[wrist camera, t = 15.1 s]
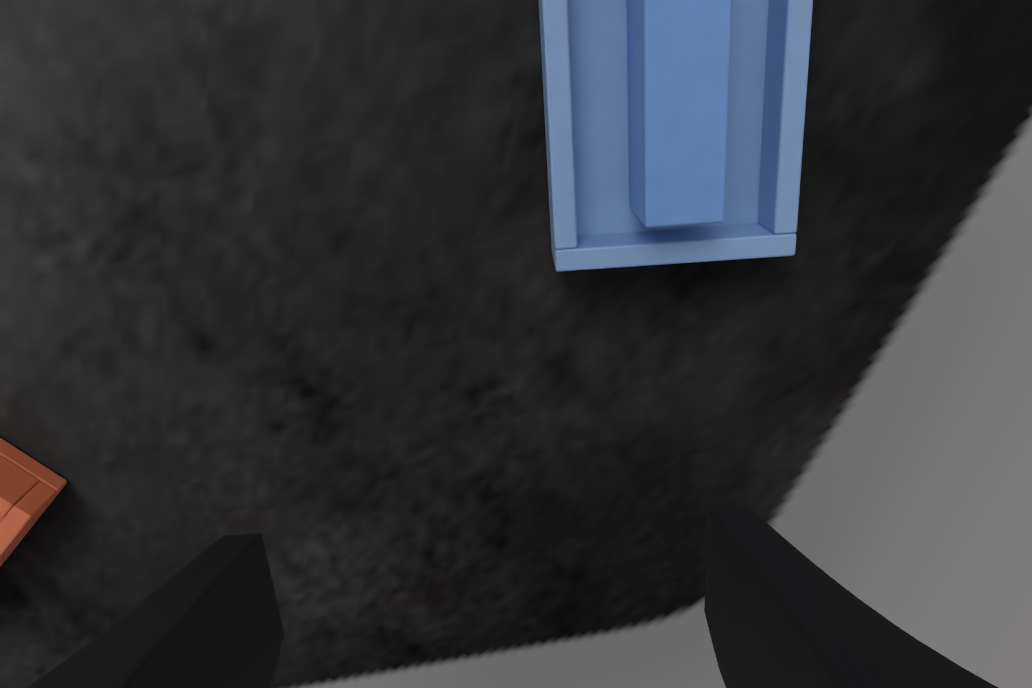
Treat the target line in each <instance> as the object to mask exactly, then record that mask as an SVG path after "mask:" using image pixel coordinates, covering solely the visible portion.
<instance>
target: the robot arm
mask: <svg viewBox="0 0 1032 688" xmlns="http://www.w3.org/2000/svg"><path fill="white" fill-rule="evenodd" d="M705 615H706V618H707V623H708V627H709V631H710V635H711V639H712V643H713V647H714V651H715V654H716V658H717V662H718V666H719V669H720V672H721V675H722V678H723V680H724V683H725V686H726V688H998V687H996V686H994V685H992V684H990V683H989V682H987V681H985V680H983V679H981V678H979V677H978V676H976V675H974V674H973V673H971V672H969V671H967V670H966V669H964V668H962V667H960V666H959V665H957V664H956V663H954V662H952V661H951V660H949V659H948V658H946V657H944V656H943V655H941V654H939V653H938V652H936V651H935V650H933V649H931V648H930V647H928V646H927V645H925V644H923V643H922V642H920V641H918V640H916V639H915V638H914V637H912V636H911V635H909V634H908V633H906V632H905V631H903V630H901V629H900V628H899V627H897V626H896V625H894V624H893V623H891V622H890V621H888V620H887V619H886V618H885V617H883V616H882V615H880V614H879V613H878V612H876V611H875V610H873V609H872V608H871V607H869V606H868V605H866V604H865V603H863V602H862V601H861V600H860V599H858V598H857V597H855V596H854V595H853V594H852V593H850V592H849V591H848V590H846V589H845V588H844V587H843V586H841V585H840V584H839V583H837V582H836V581H835V580H834V579H832V578H831V577H830V576H829V575H827V574H826V573H825V572H824V571H822V570H821V569H820V568H819V567H817V566H816V565H815V564H814V563H813V562H811V561H810V560H809V559H808V558H806V557H805V556H804V555H803V554H802V553H801V552H800V551H798V550H797V549H796V548H795V547H794V546H793V545H791V544H790V543H789V542H788V541H787V540H785V539H784V538H783V537H782V536H781V535H780V534H779V533H777V532H776V531H775V530H774V529H773V528H772V527H771V526H769V525H768V524H767V523H766V522H765V521H764V520H763V519H761V518H760V517H759V516H758V515H757V514H756V513H755V512H753V511H752V510H751V509H750V508H749V507H747V506H734V507H717V508H708V527H707V556H706V584H705ZM283 636H284V632H283V627H282V623H281V618H280V614H279V609H278V605H277V601H276V596H275V592H274V587H273V583H272V578H271V574H270V569H269V565H268V560H267V556H266V551H265V547H264V542H263V538H262V533H261V534H244V535H226V536H223V537H222V538H220V539H219V540H218V541H216V542H215V543H214V544H212V545H211V546H210V547H208V548H207V549H206V550H205V551H203V552H202V553H201V554H200V555H198V556H197V557H196V558H195V559H193V560H192V561H191V562H190V563H189V564H187V565H186V566H185V567H184V568H183V569H181V570H180V571H179V572H178V573H176V574H175V575H174V576H173V577H172V578H170V579H169V580H168V581H167V582H166V583H164V584H163V585H162V586H161V587H159V588H158V589H157V590H156V591H155V592H153V593H152V594H151V595H150V596H148V597H147V598H146V599H145V600H143V601H142V602H141V603H140V604H139V605H137V606H136V607H135V608H134V609H132V610H131V611H130V612H129V613H127V614H126V615H125V616H124V617H122V618H121V619H120V620H119V621H117V622H116V623H115V624H113V625H112V626H111V627H109V628H108V629H107V630H105V631H104V632H103V633H101V634H100V635H99V636H97V637H96V638H95V639H93V640H92V641H91V642H89V643H88V644H87V645H85V646H84V647H83V648H81V649H80V650H79V651H77V652H76V653H75V654H73V655H72V656H71V657H69V658H68V659H67V660H65V661H64V662H63V663H61V664H60V665H59V666H57V667H56V668H54V669H53V670H51V671H50V672H49V673H47V674H46V675H44V676H43V677H41V678H40V679H38V680H37V681H36V682H34V683H33V684H31V685H30V686H28V687H27V688H271V684H272V680H273V677H274V673H275V669H276V665H277V661H278V657H279V653H280V648H281V644H282V640H283Z"/></svg>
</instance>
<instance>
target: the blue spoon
mask: <svg viewBox="0 0 1032 688" xmlns="http://www.w3.org/2000/svg"><path fill="white" fill-rule="evenodd" d="M731 16H732V0H627V74H628V154H629V205H630V207H631V209H632V210H633V211H634V213H635V214H636V215H637V217H638V218H639V219H640V220H641V222H642V223H643V224H644V226H645V227H647V228H655V227H669V226H684V225H698V224H713V223H721V222H723V221H724V218H725V189H726V160H727V131H728V102H729V74H730V45H731Z"/></svg>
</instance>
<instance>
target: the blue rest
mask: <svg viewBox="0 0 1032 688" xmlns="http://www.w3.org/2000/svg"><path fill="white" fill-rule="evenodd" d="M812 7H813V0H732V16H731V45H730V74H729V102H728V131H727V160H726V189H725V218H724V221H723V222H721V223H713V224H698V225H684V226H669V227H655V228H647V227H645V226H644V224H643V223H642V222H641V220H640V219H639V218H638V217H637V215H636V214H635V213H634V211H633V210H632V209H631V207H630V205H629V154H628V74H627V0H539V18H540V37H541V56H542V75H543V94H544V113H545V132H546V151H547V171H548V190H549V209H550V228H551V247H552V255H553V260H554V264H555V269H556V271H558V272H560V271H575V270H589V269H604V268H619V267H633V266H648V265H663V264H677V263H692V262H707V261H721V260H736V259H751V258H765V257H780V256H792V255H794V254H795V247H796V234H795V232H796V231H797V219H798V205H799V191H800V176H801V162H802V148H803V134H804V120H805V106H806V92H807V77H808V63H809V49H810V35H811V21H812Z"/></svg>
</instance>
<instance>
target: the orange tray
mask: <svg viewBox="0 0 1032 688" xmlns="http://www.w3.org/2000/svg"><path fill="white" fill-rule="evenodd" d="M66 483H67V480H65V479H64V478H62V477H61V476H59V475H58V474H56V473H54V472H53V471H51V470H50V469H48V468H47V467H45V466H44V465H42V464H40V463H39V462H37V461H36V460H34V459H33V458H31V457H30V456H28V455H27V454H25V453H23V452H22V451H20V450H19V449H17V448H16V447H14V446H13V445H11V444H9V443H8V442H6V441H5V440H3V439H2V438H0V567H1V565H2V564H3V563H4V562H5V560H6V559H7V558H8V557H9V555H10V554H11V553H12V552H13V550H14V549H15V548H16V547H17V545H18V544H19V543H20V541H21V540H22V539H23V538H24V536H25V535H26V534H27V533H28V531H29V530H30V529H31V528H32V526H33V525H34V524H35V523H36V521H37V520H38V519H39V517H40V516H41V515H42V514H43V512H44V511H45V510H46V509H47V507H48V506H49V505H50V504H51V502H52V501H53V500H54V499H55V497H56V496H57V495H58V493H59V492H60V491H61V490H62V488H63V487H64V486H65V485H66Z"/></svg>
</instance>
